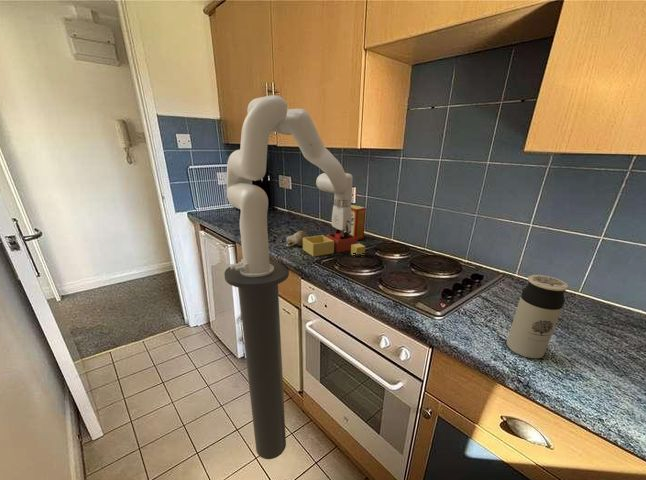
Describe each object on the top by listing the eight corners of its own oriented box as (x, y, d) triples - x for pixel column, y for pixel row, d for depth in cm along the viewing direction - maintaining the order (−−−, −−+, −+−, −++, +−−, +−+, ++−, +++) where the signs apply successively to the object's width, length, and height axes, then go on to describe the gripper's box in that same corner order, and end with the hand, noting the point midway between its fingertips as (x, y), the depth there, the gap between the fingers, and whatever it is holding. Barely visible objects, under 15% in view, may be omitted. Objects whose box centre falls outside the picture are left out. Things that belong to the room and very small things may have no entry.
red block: (339, 245, 136) (339, 236, 134) (334, 242, 139) (334, 233, 137) (347, 244, 138) (348, 234, 136) (342, 241, 141) (342, 232, 140)
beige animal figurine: (288, 241, 145) (299, 224, 142) (303, 253, 143) (314, 236, 140) (280, 242, 139) (291, 224, 135) (296, 254, 136) (307, 236, 133)
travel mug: (504, 335, 78) (524, 271, 70) (540, 343, 75) (564, 278, 68) (507, 353, 71) (530, 285, 64) (547, 363, 68) (575, 292, 61)
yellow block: (356, 257, 128) (357, 247, 126) (350, 254, 131) (351, 244, 129) (364, 255, 130) (365, 246, 128) (358, 252, 133) (359, 243, 132)
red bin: (337, 252, 133) (337, 240, 131) (326, 245, 141) (326, 234, 139) (356, 249, 138) (357, 237, 136) (344, 243, 146) (344, 232, 144)
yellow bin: (313, 256, 127) (313, 244, 125) (302, 249, 135) (302, 237, 133) (333, 253, 132) (334, 241, 130) (322, 246, 140) (322, 235, 138)
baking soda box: (341, 236, 156) (342, 205, 149) (350, 234, 160) (351, 204, 153) (355, 240, 150) (357, 208, 143) (363, 238, 154) (365, 207, 147)
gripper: (325, 200, 136) (324, 239, 143) (346, 207, 123) (343, 249, 130) (339, 199, 140) (338, 237, 147) (360, 206, 126) (358, 247, 134)
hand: (340, 242), depth 138 cm, fingers closed on red block, 4 cm apart
